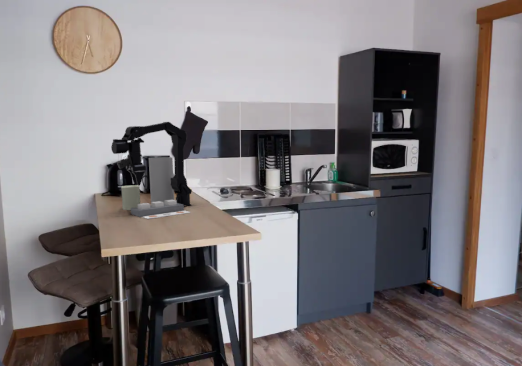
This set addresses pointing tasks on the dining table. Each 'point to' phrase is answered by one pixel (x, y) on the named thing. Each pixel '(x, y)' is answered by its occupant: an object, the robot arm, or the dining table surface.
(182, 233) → the dining table surface
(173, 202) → the button
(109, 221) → the dining table surface
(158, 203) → the button middle
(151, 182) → the cylinder vase
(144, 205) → the button
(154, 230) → the dining table surface
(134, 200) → the can
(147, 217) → the pattern card
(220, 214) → the dining table surface
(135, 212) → the button board
